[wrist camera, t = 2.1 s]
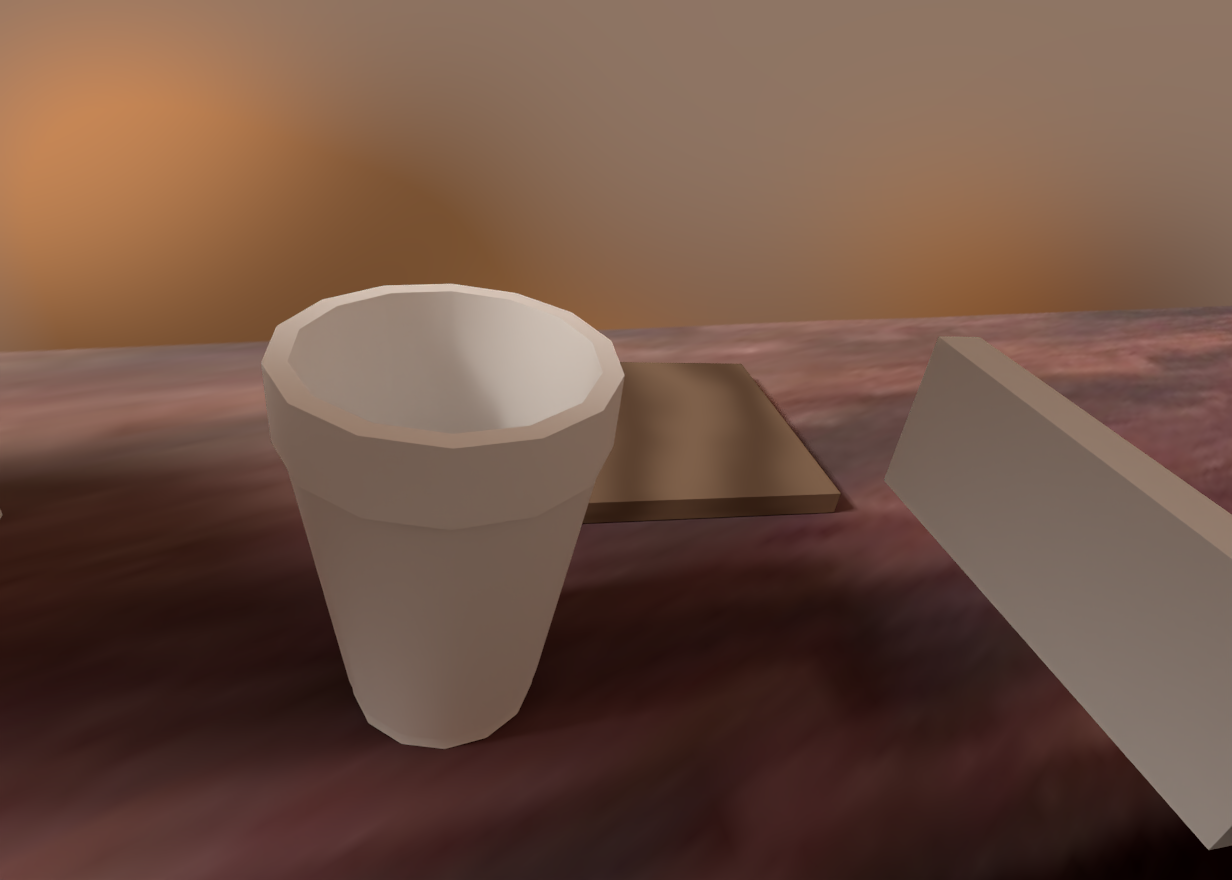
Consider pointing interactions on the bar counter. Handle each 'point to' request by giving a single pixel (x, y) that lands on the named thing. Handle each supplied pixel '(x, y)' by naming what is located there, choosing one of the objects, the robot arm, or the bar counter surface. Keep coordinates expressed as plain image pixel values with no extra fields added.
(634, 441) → the walnut board
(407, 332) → the foam cup
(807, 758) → the bar counter surface
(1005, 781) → the bar counter surface
